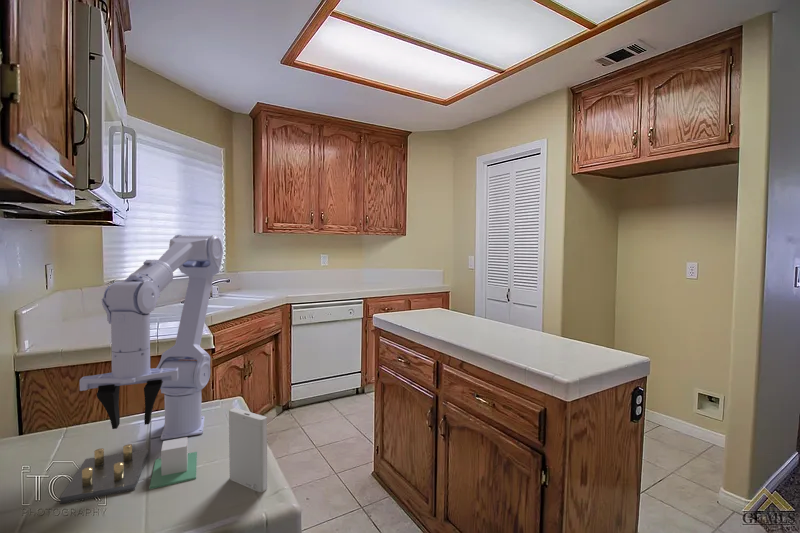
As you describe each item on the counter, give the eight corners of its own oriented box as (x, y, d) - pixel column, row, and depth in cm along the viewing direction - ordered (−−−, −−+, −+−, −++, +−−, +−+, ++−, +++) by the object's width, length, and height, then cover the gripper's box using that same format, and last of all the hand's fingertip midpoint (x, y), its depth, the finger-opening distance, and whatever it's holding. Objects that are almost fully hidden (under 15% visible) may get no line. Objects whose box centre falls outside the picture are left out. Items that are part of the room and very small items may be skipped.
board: (155, 463, 77) (155, 435, 77) (196, 455, 80) (196, 429, 80) (149, 491, 68) (149, 460, 68) (196, 481, 71) (195, 452, 71)
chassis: (85, 464, 76) (85, 445, 76) (148, 454, 80) (147, 436, 80) (60, 503, 64) (59, 482, 64) (134, 489, 68) (134, 469, 68)
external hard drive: (260, 494, 67) (260, 420, 67) (228, 480, 71) (227, 410, 71) (268, 489, 69) (268, 416, 68) (236, 475, 73) (235, 407, 72)
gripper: (73, 358, 65) (74, 441, 66) (175, 350, 71) (176, 426, 72) (86, 348, 72) (87, 424, 72) (179, 342, 78) (179, 412, 78)
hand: (132, 424), depth 72 cm, fingers open, 4 cm apart
